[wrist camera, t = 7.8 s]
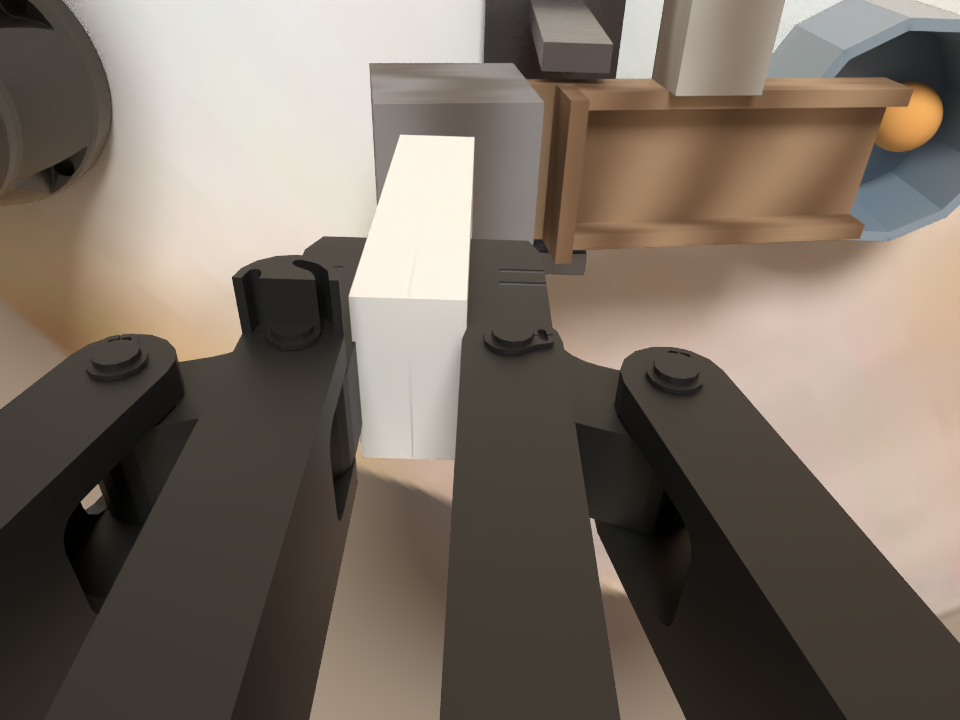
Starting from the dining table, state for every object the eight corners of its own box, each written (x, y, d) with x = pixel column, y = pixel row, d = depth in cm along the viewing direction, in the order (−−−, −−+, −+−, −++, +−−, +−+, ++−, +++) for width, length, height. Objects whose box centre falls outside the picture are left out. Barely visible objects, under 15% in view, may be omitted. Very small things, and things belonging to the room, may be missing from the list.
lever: (377, 212, 39) (382, 273, 33) (360, -95, 31) (363, -84, 25) (806, 199, 42) (878, 252, 36) (892, -80, 34) (1000, -68, 28)
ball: (933, 165, 42) (921, 144, 45) (961, 95, 40) (947, 79, 43) (860, 155, 43) (854, 136, 46) (883, 87, 41) (875, 72, 44)
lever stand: (479, 190, 49) (477, 287, 38) (486, -25, 41) (486, 16, 30) (596, 194, 49) (629, 291, 38) (624, -20, 42) (675, 23, 30)
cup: (728, 193, 49) (760, 237, 43) (775, -7, 42) (821, 14, 36) (906, 198, 49) (962, 243, 43) (983, 0, 42) (1062, 22, 36)
